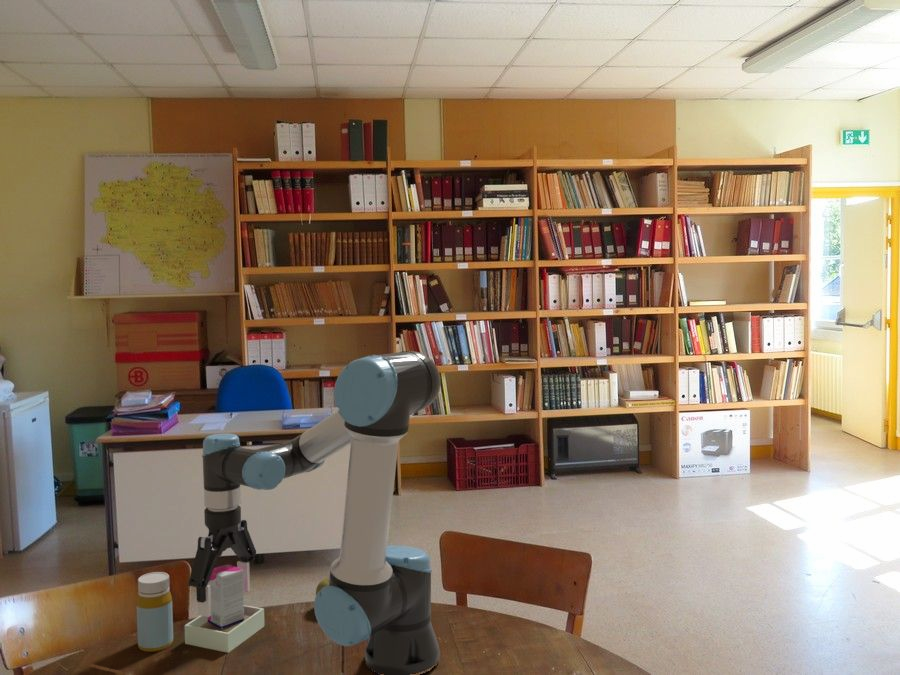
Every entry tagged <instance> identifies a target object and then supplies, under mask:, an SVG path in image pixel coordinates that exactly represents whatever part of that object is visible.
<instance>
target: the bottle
mask: <svg viewBox="0 0 900 675" xmlns="http://www.w3.org/2000/svg"><path fill="white" fill-rule="evenodd" d="M137 589H138V591H137V592H138V596H137V599H136V626H137V627H136V628H137V629H136V630H137V646H138V649H139V650H141V651H143V652H148V653H150V652H151V653H152V652H158V651H163V650H165V649H167V648H169V647H171V645H172V644H173V642H174V620H173V619H174V617H173V616H174V615H173V614H174V613H173V596H172V593H171V591H170V575H169V574H168V573H167V572H165V571H154V572H153V571H152V572H148V573H145V574H142V575H141V576H140V577H138V578H137Z"/></svg>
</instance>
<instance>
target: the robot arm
mask: <svg viewBox="0 0 900 675" xmlns="http://www.w3.org/2000/svg"><path fill="white" fill-rule="evenodd" d="M440 389H441V374H440V371H439V368H438V367H437V365H436V364H435V362H434V361H433V360H432V358H430V357H428V356H427V355H426V354H424V353H422V352H419V351H415V350H414V351H413V350H404V351H399V352H393V353H383V354H371V355H367V356H363V357H361V358H357V359H355V360H352V361H350V362H349V363H348V364H346V366H344V367H343V368H342V370H341V371H340V373H339V374H338V376H337V379H336V380H335V384H334V389H333V399H334V405H335V407H336V408H338V410H336V411H335V412H333V413H331V414H330V415H329V416H327V417H325V418H324V419H323V420H321V421H319V422H318V423H316V424H314V425H313V426H312V427H310V428H308V429H307V430H305V431H304V432H303V433H301V434H299V435H297V436H296V437H294V438H293V439H291V440H288V441H283V442H280V443H277V444H272V445H269V446H264V447H261V448H257V449H253V448H245V447H241V443H240V438H239V436H238V435H237V434H234V433H228V432H227V433H226V432H225V433H215V434H211V435H208V436H206V437H204V439H203V442H202V455H201V458H202V473H203V474H202V475H203V476H202V477H203V492H204V493H203V497H204V500H203V501H204V502H203V503H204V507H205V508H204V514H203V515H204V517H203V518H204V525H205V527H206V528H207V530H208V534H207V536H206V537H204V536H203V537H202V536H199V537H198V538H197V548H196V549H197V550H196V553H195V557H194V560H193V564H192V569H191V572H190V576H189V580H188V586H189V587H193V588H194V587H195V588H196V590H195V592H196V594H195V595H196V602H197V615H198V616H200V615H201V616H206V617H210V616H211V590H210V585H207V584H208V582H209V579H210V577H211V575H212V572H213V570H214V568H216V564H217V562H218V560H219V558H220V557H221V556H222V554H223V552H225V551H226V550H228V549H231V550H232V551H233V553H234V554H235V555H236V556H237V558H238V559H239V560H238V561H236V565H237V566H236V567H237V568H240V569H242V570H243V574H244V592H250V591H251V588H250V587H251V586H250V583H251V582H250V581H251V580H250V579H251V578H250V574H251V562H252V563H253V562H254V561H255V556H256V555H257V550H256V547H255V545H254V542H253V540H252V538H251V537H252V536H251V534H250V532H249V530H248V522H247V521H248V520H246V519H242V508H241V506H240V505H241V503H242V494H241V486H243V487H244V486H245V487H248V488H251V489H254V490H255V489H256V490H259V491H261V490H264V491H270V490H273V489H275V488H277V487H278V485H280V484H281V483H282V482H283V480H285V479H288V478H290V477H294V476H297V475H301V474H305V473H310V472H312V471H315V470H316V469H319V468H320V467H322V466H323V465H324V463H325V461H326V460H327V459H329V458H331V457H332V456H334V455H336V454H338V453H339V452H341V451H343V450H344V449H346V448H348V447H349V446H350V447H349V448H350V451H349V458H348V460H349V461H348V470H347V478H346V479H347V480H346V481H347V482H346V490H345V501H344V512H343V521H342V531H341V540H340V541H341V543H340V552H339V556H338V557H337V558H336V559H334V561H332V562H331V564H330V567H329V568H330V569H329V577H328V578H329V585H328V586H324V587H323V588H322V589H321V590H320V591H319V592H318V593H317V595H316V594H315V597H314V598H315V599H314V601H313V602H314V603H313V607H314V608H313V609H314V616H315V618H316V621H317V623H318V625H319V627H320V628H321V630H322V631H323V633H324V634H325V636H327V638H329V639H330V640H331V641H332V642H334V643H336V644H338V645H340V646H343V647H352V646H355V645H357V644H360V643H361V642H365V641H367V640H368V641H367V644H366V647H365V652H364V656H365V659H364V660H365V661H366V662H365V661H364V662H365V665H366V664H367V665H366V667H367V666H368V667H369V668H370V669H371V670H373V671H375V672H376V673H379V674H384V675H410V674H416V673H419V672H422V671H425V670H427V669H429V668H431V667H432V666H433V665H435V664H436V663H437V661H438V659H439V660H440V646H439V643H438V639H437V636H436V634H435V631H434V628H433V625H432V622H431V621H432V617H431V616H432V615H431V614H432V606H431V605H432V602H431V601H432V567H431V565H432V564H431V558H430V555H429V554H428V553H427V552H426V551H425V550H424V549H421V548H417V547H413V546H408V545H388V543H389V534H390V532H389V531H390V524H391V523H390V522H391V517H392V516H391V514H392V506H393V505H392V504H393V497H394V495H393V494H394V486H395V478H396V470H397V469H396V468H397V459H398V450H399V441H400V440H401V439H403V437H405V436H407V435H408V432H409V428H410V418H411V416H412V415H413V414H415V413H417V412H420V411H422V410H425V409H426V408H428V407H429V406H430V405H432V404H433V403H434V401H435V400H436V399H437V397H438V395H439V392H440V391H441V390H440ZM368 667H367V668H368ZM369 668H368V669H369ZM370 669H369V670H370ZM371 670H370V671H371ZM373 671H372V672H373ZM376 673H375V674H376ZM379 674H378V675H379Z"/></svg>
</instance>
